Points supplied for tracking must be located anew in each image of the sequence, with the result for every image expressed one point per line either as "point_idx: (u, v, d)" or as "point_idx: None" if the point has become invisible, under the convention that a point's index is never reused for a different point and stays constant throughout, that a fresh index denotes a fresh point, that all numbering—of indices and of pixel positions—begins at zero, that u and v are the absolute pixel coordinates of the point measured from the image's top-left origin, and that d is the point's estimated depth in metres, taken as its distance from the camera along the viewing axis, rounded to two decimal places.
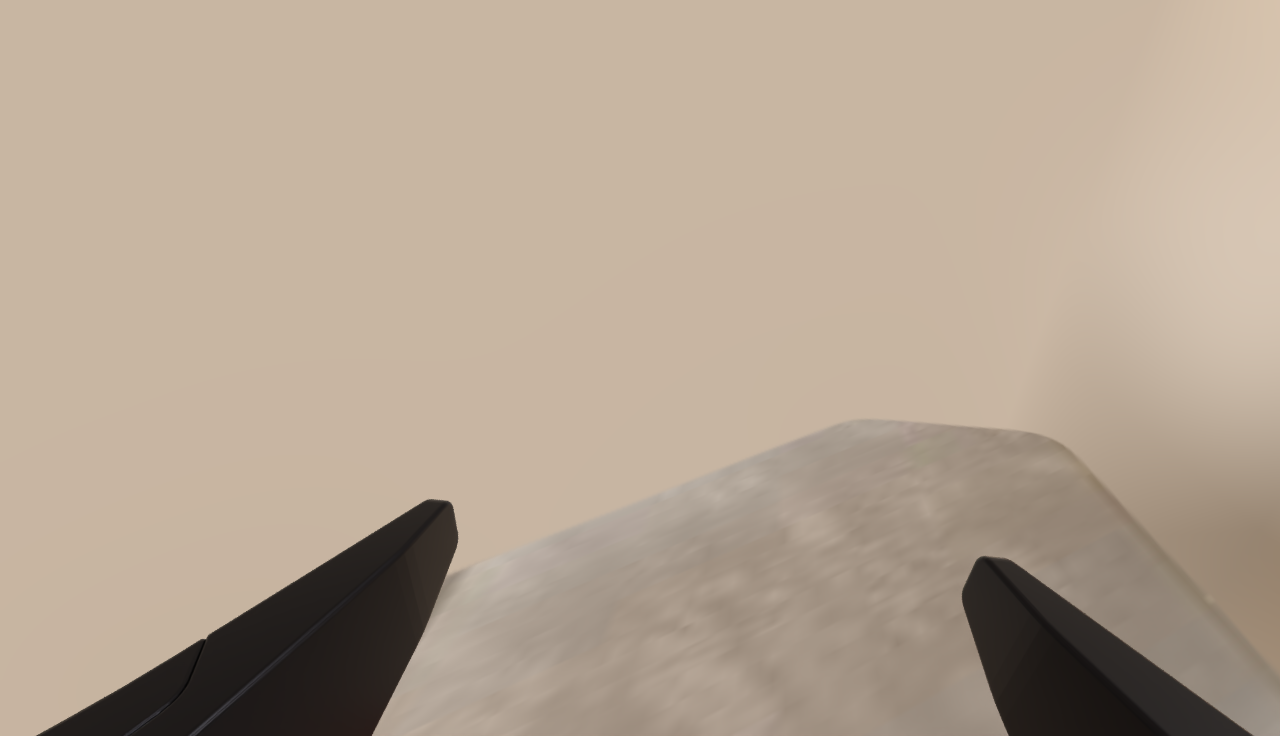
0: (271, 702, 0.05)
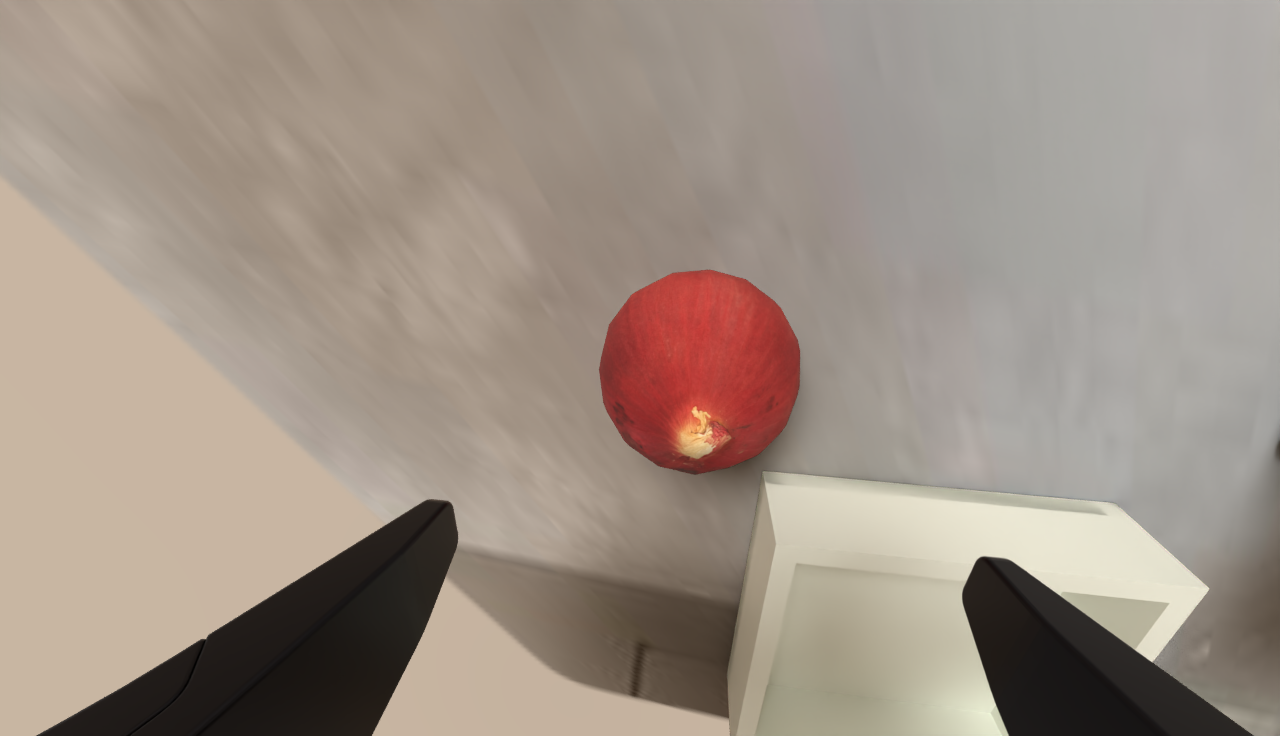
0: (270, 703, 0.05)
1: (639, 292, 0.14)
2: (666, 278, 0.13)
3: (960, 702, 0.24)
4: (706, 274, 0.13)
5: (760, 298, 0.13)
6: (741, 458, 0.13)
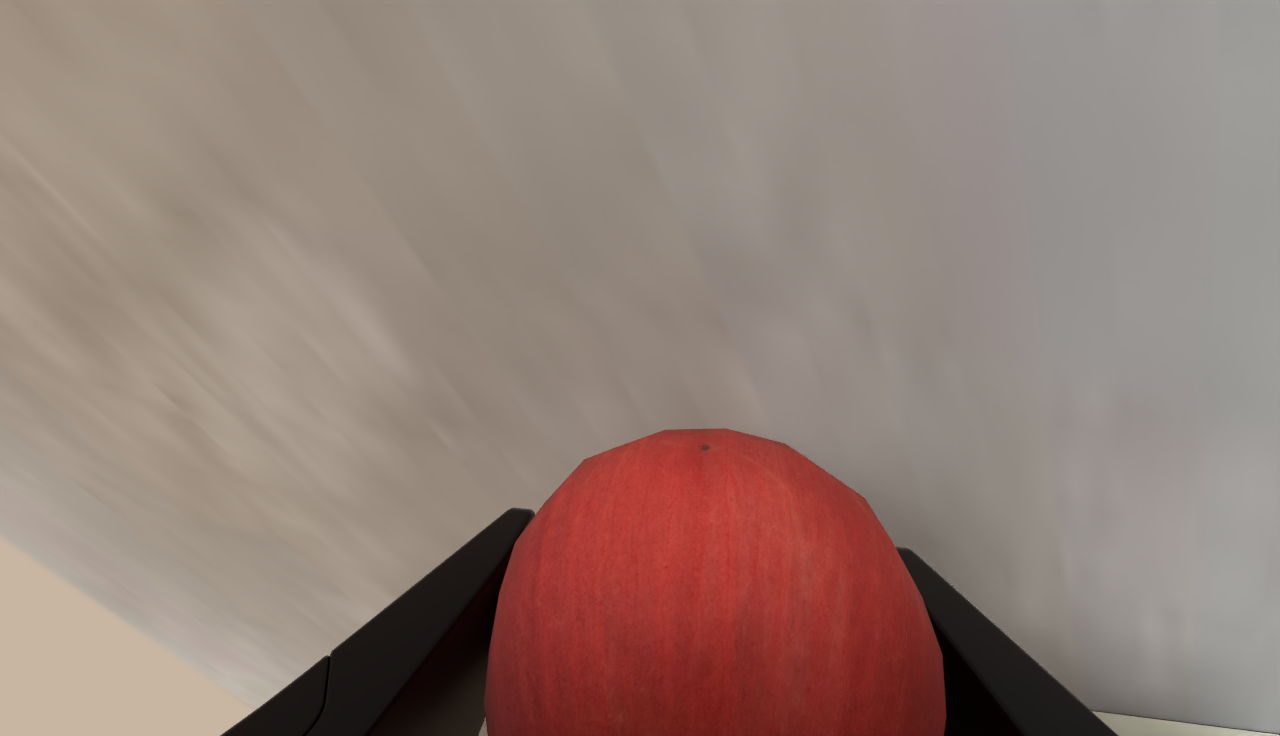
0: (403, 721, 0.05)
1: (572, 494, 0.06)
2: (630, 472, 0.06)
3: None
4: (722, 470, 0.06)
5: (852, 536, 0.05)
6: None
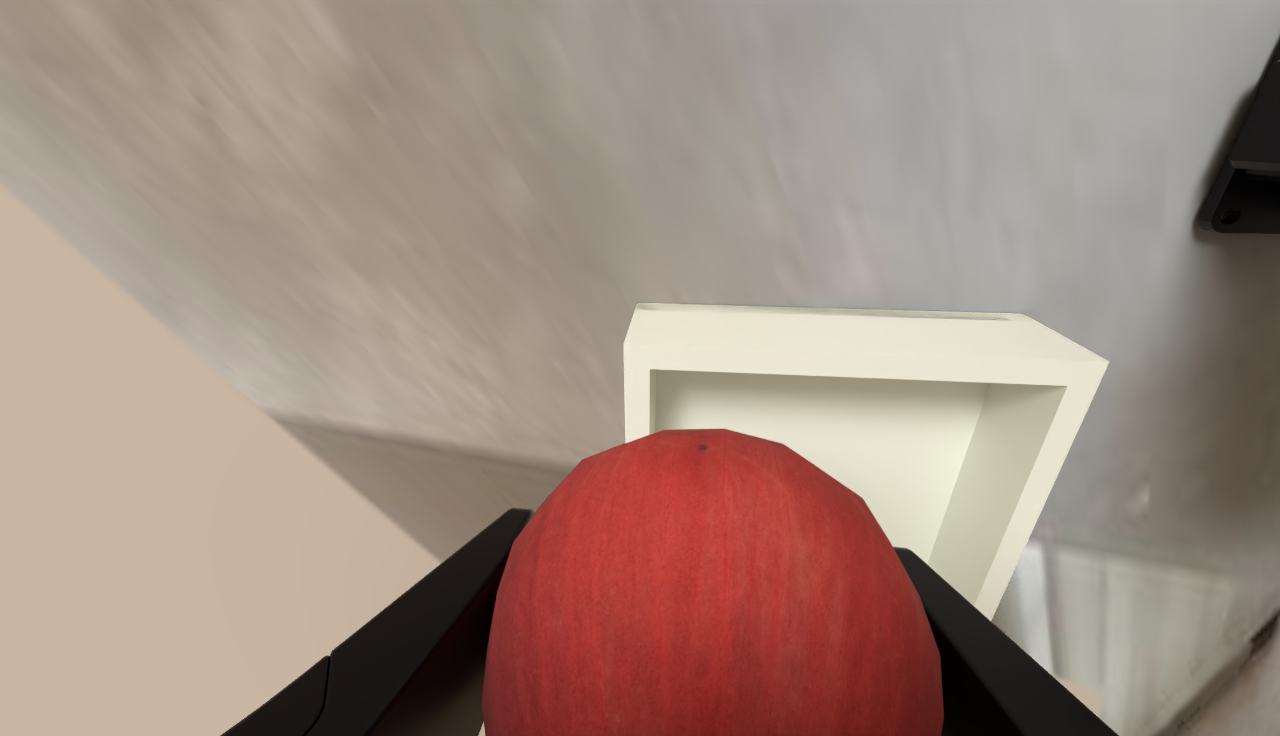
0: (403, 721, 0.05)
1: (569, 494, 0.06)
2: (628, 472, 0.06)
3: None
4: (720, 470, 0.06)
5: (850, 536, 0.05)
6: None
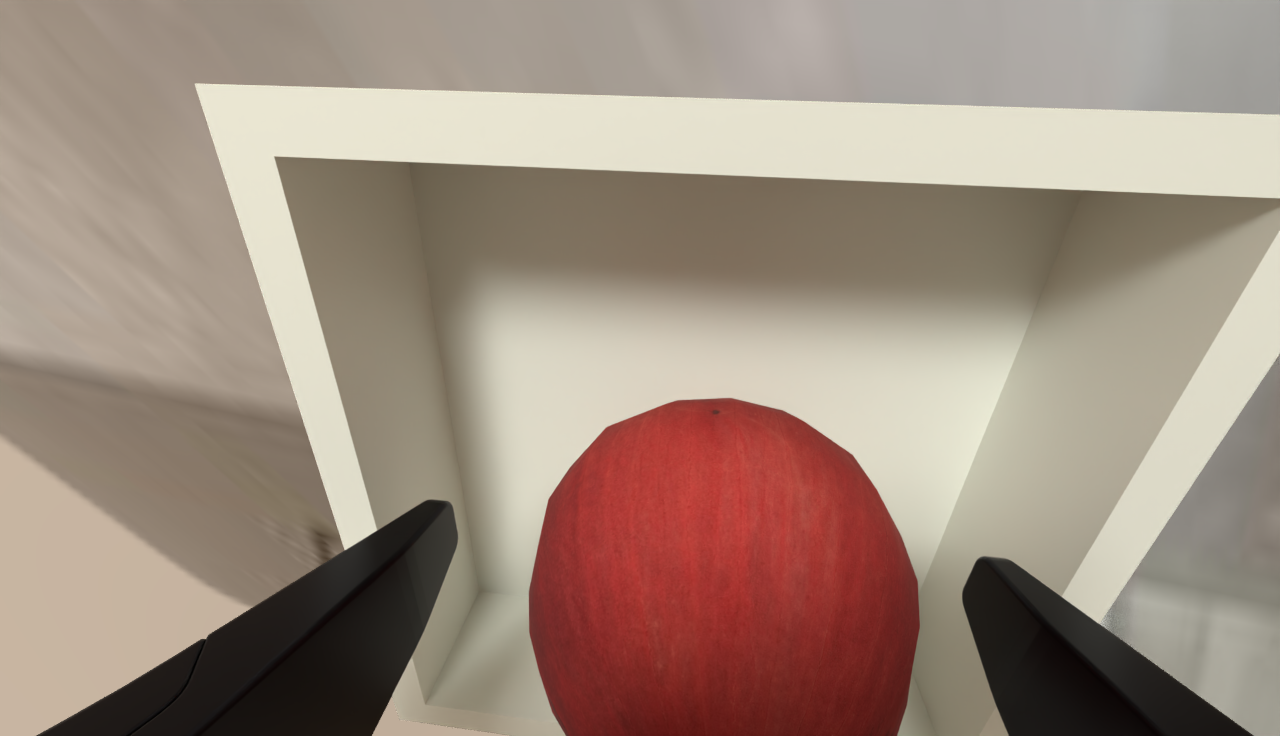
0: (271, 702, 0.05)
1: (601, 454, 0.07)
2: (652, 433, 0.07)
3: None
4: (732, 429, 0.07)
5: (842, 482, 0.06)
6: None
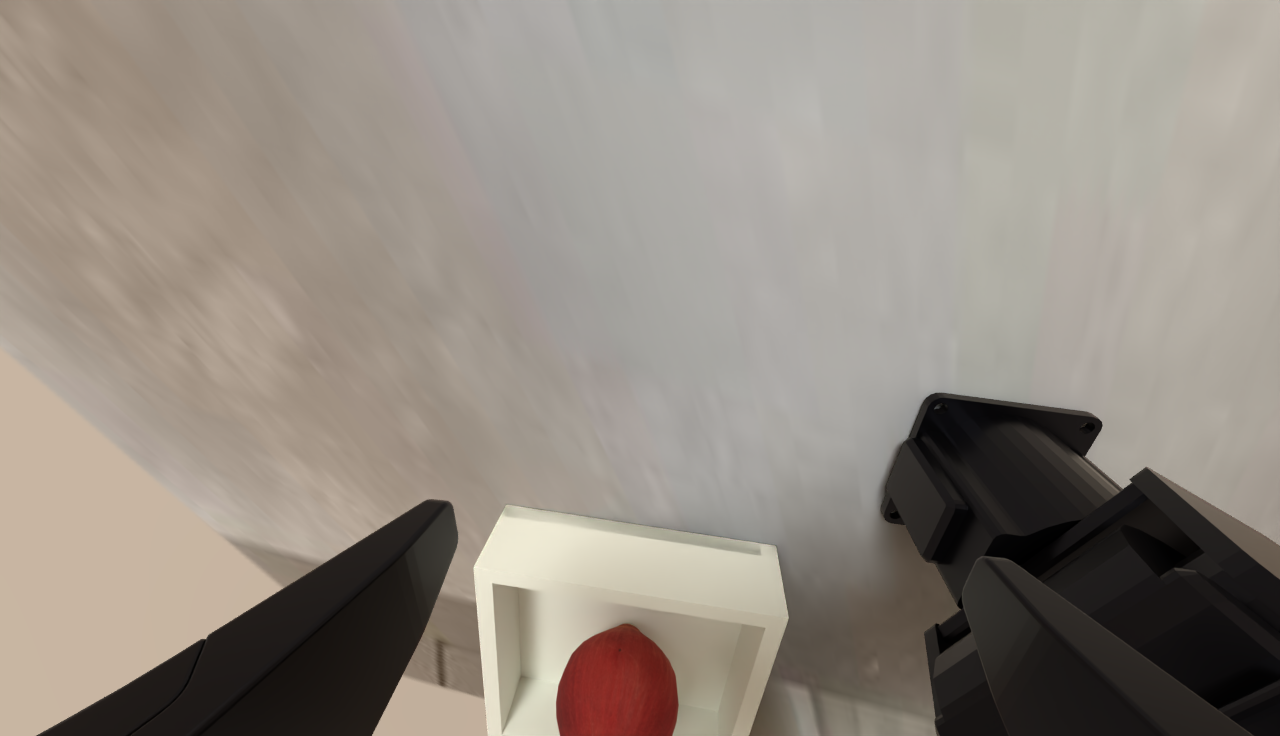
0: (271, 702, 0.05)
1: (582, 661, 0.23)
2: (598, 658, 0.22)
3: (692, 701, 0.29)
4: (622, 661, 0.22)
5: (652, 681, 0.22)
6: None
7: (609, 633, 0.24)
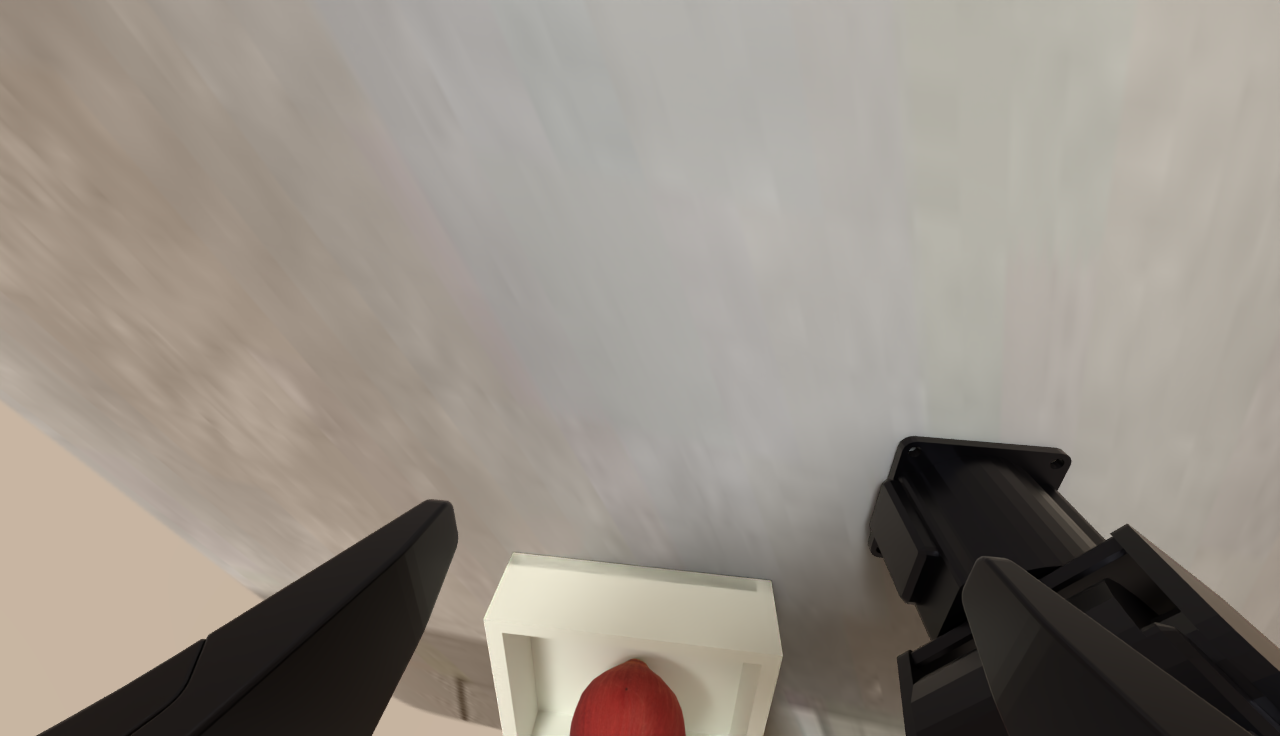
0: (271, 702, 0.05)
1: (591, 701, 0.24)
2: (606, 698, 0.24)
3: (703, 728, 0.30)
4: (628, 700, 0.23)
5: (658, 718, 0.23)
6: None
7: (616, 671, 0.25)
